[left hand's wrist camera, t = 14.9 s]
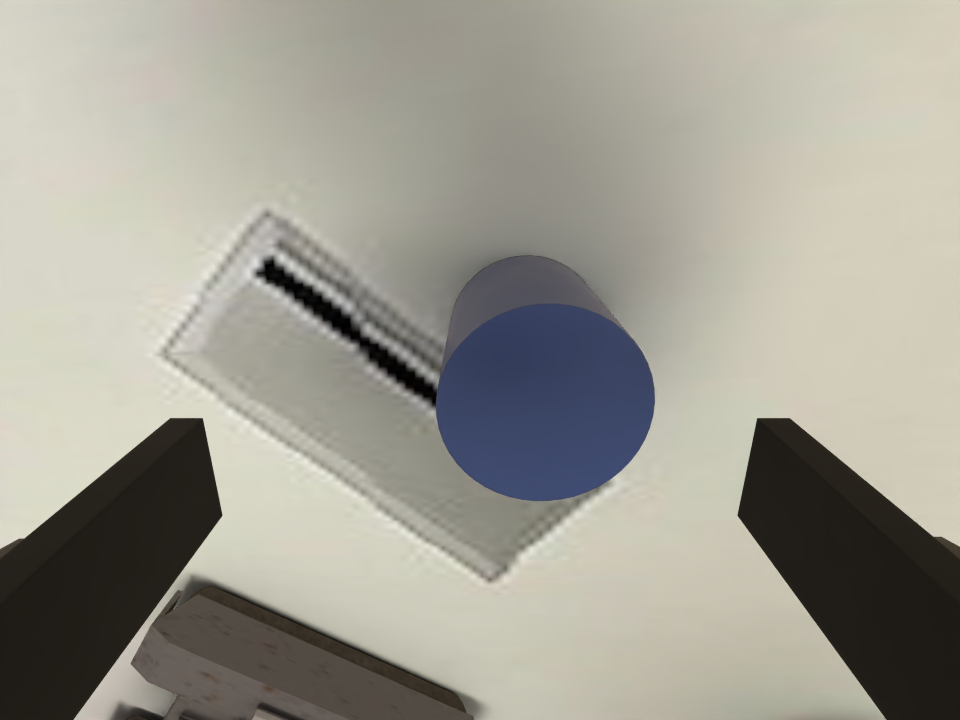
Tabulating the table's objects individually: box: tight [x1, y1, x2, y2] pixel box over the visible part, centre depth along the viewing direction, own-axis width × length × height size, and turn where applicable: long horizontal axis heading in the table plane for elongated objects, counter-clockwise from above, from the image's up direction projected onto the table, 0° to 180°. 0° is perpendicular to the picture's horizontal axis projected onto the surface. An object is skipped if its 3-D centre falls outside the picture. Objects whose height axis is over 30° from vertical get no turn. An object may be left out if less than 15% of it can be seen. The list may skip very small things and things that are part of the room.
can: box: [436, 256, 655, 501], centre depth 27 cm, size 9×9×11 cm
